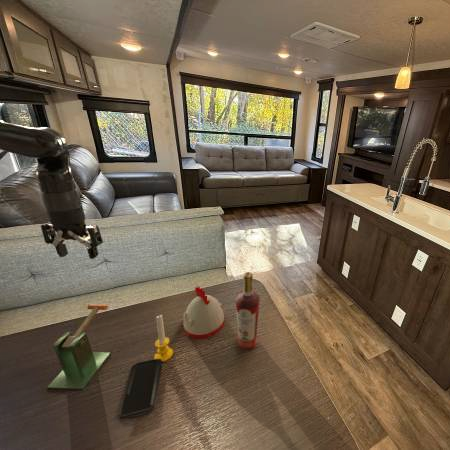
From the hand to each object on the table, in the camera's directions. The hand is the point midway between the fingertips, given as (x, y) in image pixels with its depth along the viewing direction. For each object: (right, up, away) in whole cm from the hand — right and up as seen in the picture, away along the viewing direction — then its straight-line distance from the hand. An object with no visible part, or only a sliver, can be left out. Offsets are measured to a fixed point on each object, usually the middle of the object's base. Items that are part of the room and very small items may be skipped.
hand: (79, 256), depth 74 cm
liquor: (+48, -31, +10) cm, 58 cm away
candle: (+24, -32, +3) cm, 40 cm away
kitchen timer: (+31, -27, +17) cm, 44 cm away
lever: (+5, -20, -3) cm, 21 cm away
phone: (+23, -35, -6) cm, 43 cm away
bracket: (+4, -32, -3) cm, 33 cm away
